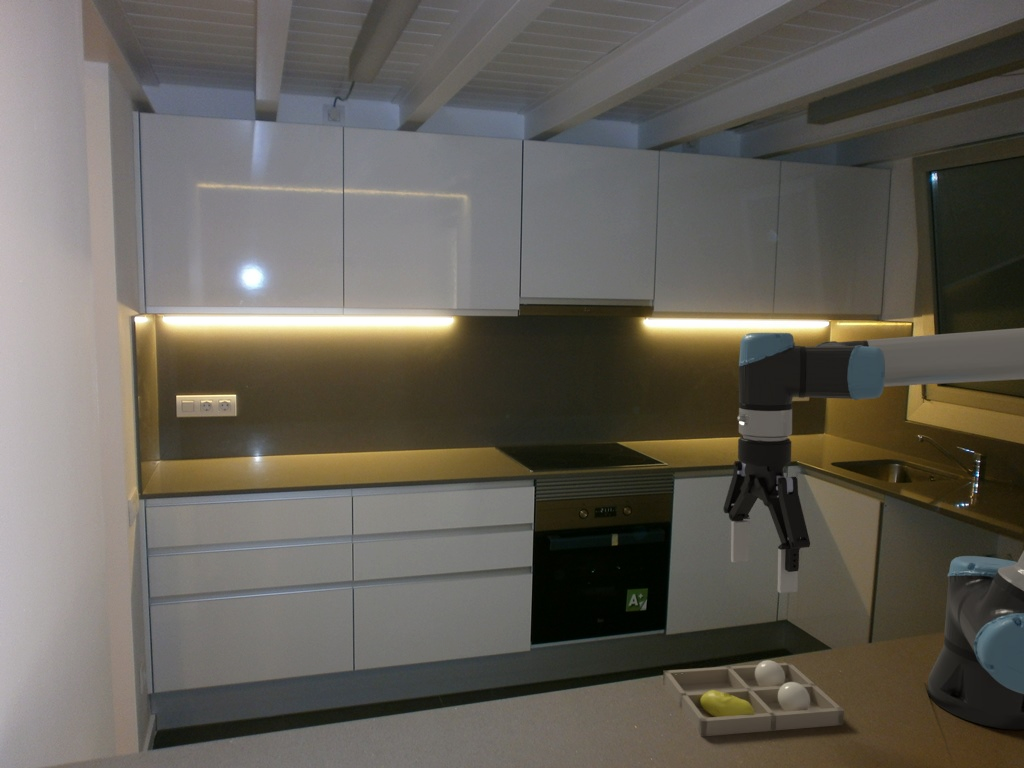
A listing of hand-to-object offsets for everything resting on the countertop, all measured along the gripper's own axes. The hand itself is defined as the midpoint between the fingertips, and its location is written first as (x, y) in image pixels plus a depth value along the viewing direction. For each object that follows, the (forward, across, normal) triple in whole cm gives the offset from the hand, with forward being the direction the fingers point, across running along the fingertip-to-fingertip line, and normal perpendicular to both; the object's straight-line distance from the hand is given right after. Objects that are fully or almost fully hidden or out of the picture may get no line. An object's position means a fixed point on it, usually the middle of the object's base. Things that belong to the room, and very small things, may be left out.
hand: (762, 575), depth 114 cm
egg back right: (+20, -4, +4) cm, 21 cm away
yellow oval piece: (+20, +3, -7) cm, 22 cm away
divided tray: (+21, 0, -2) cm, 21 cm away
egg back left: (+20, +3, +4) cm, 21 cm away
